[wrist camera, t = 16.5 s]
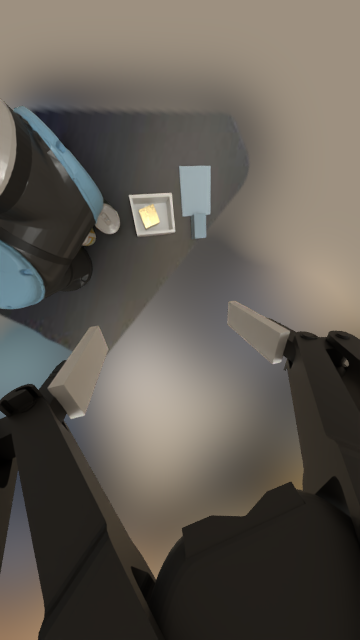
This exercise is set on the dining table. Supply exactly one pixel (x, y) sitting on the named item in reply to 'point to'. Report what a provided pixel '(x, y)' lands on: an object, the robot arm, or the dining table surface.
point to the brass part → (149, 216)
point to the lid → (195, 197)
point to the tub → (162, 209)
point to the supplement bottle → (90, 238)
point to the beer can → (108, 219)
